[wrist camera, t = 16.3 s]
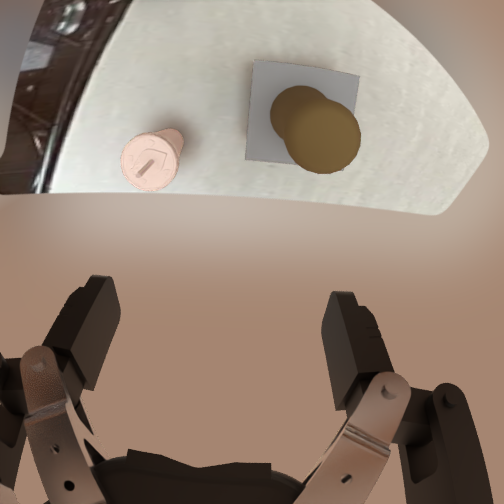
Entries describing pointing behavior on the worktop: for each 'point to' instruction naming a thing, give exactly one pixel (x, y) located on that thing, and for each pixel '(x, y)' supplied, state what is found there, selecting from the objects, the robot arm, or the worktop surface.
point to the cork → (315, 129)
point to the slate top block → (273, 83)
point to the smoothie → (152, 159)
